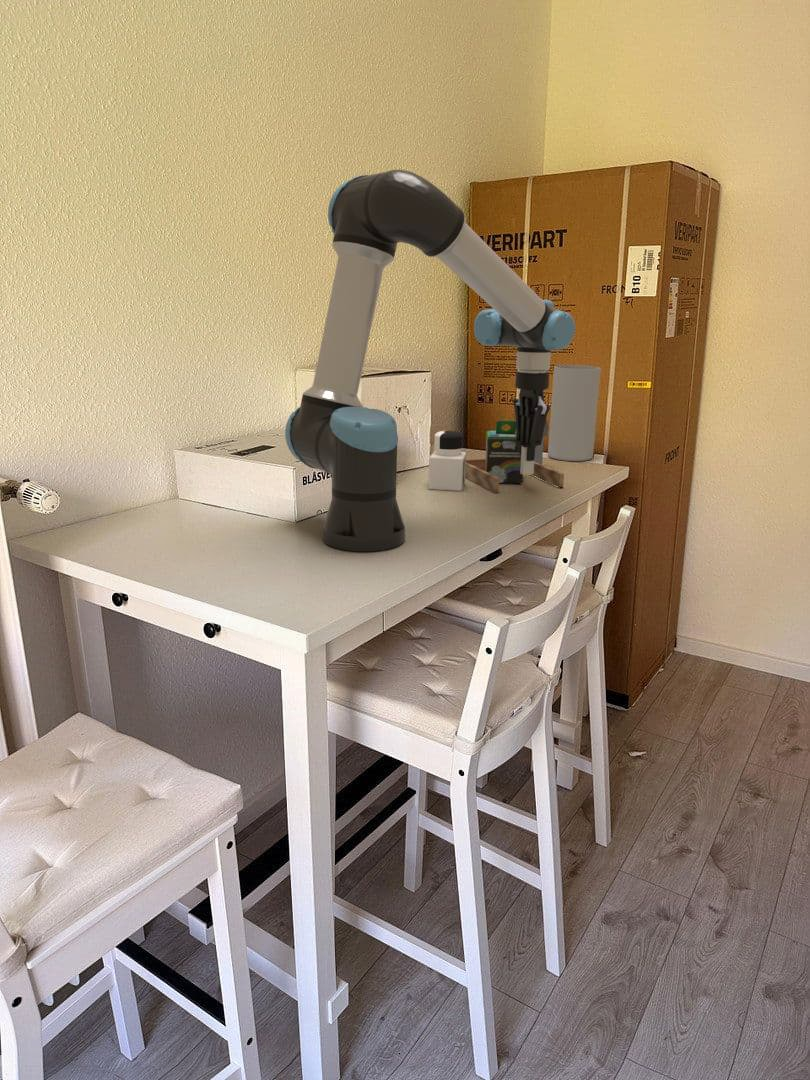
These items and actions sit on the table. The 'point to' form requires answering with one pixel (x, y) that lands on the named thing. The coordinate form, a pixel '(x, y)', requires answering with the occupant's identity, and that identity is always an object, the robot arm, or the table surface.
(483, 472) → the bay
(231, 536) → the table surface
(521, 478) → the chalk box
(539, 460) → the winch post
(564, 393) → the cylinder vase
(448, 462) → the container
